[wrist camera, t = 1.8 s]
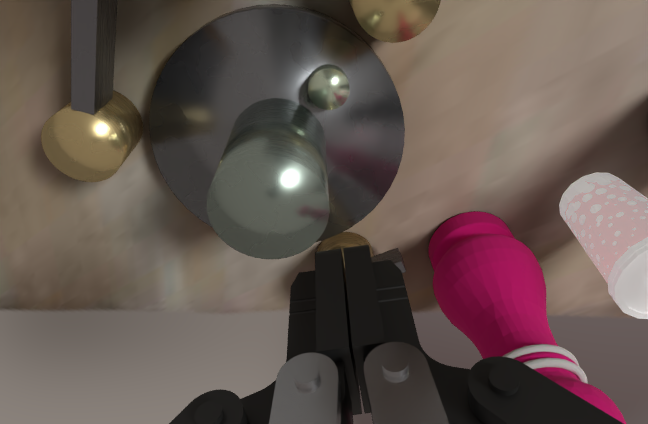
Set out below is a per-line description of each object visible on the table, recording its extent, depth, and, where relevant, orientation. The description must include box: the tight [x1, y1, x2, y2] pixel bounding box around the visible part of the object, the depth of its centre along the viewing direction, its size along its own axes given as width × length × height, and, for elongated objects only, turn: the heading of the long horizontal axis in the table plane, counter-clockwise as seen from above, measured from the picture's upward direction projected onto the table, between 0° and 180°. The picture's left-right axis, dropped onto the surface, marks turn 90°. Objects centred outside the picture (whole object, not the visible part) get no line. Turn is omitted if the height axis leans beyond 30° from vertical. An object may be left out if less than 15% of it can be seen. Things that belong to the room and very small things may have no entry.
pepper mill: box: [429, 211, 626, 424], centre depth 28 cm, size 7×7×20 cm
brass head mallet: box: [41, 0, 143, 182], centre depth 26 cm, size 14×4×4 cm, turn 164°
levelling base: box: [149, 0, 441, 273], centre depth 27 cm, size 23×19×10 cm
